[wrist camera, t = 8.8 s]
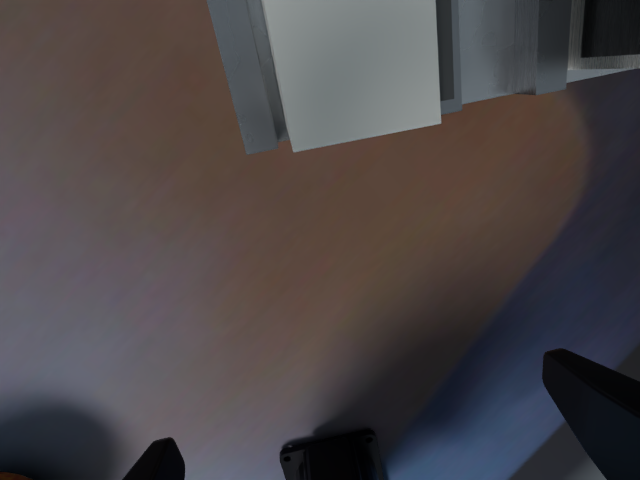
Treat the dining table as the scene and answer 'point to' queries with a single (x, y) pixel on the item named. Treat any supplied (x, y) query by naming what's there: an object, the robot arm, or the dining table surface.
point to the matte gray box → (359, 66)
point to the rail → (468, 53)
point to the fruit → (12, 476)
